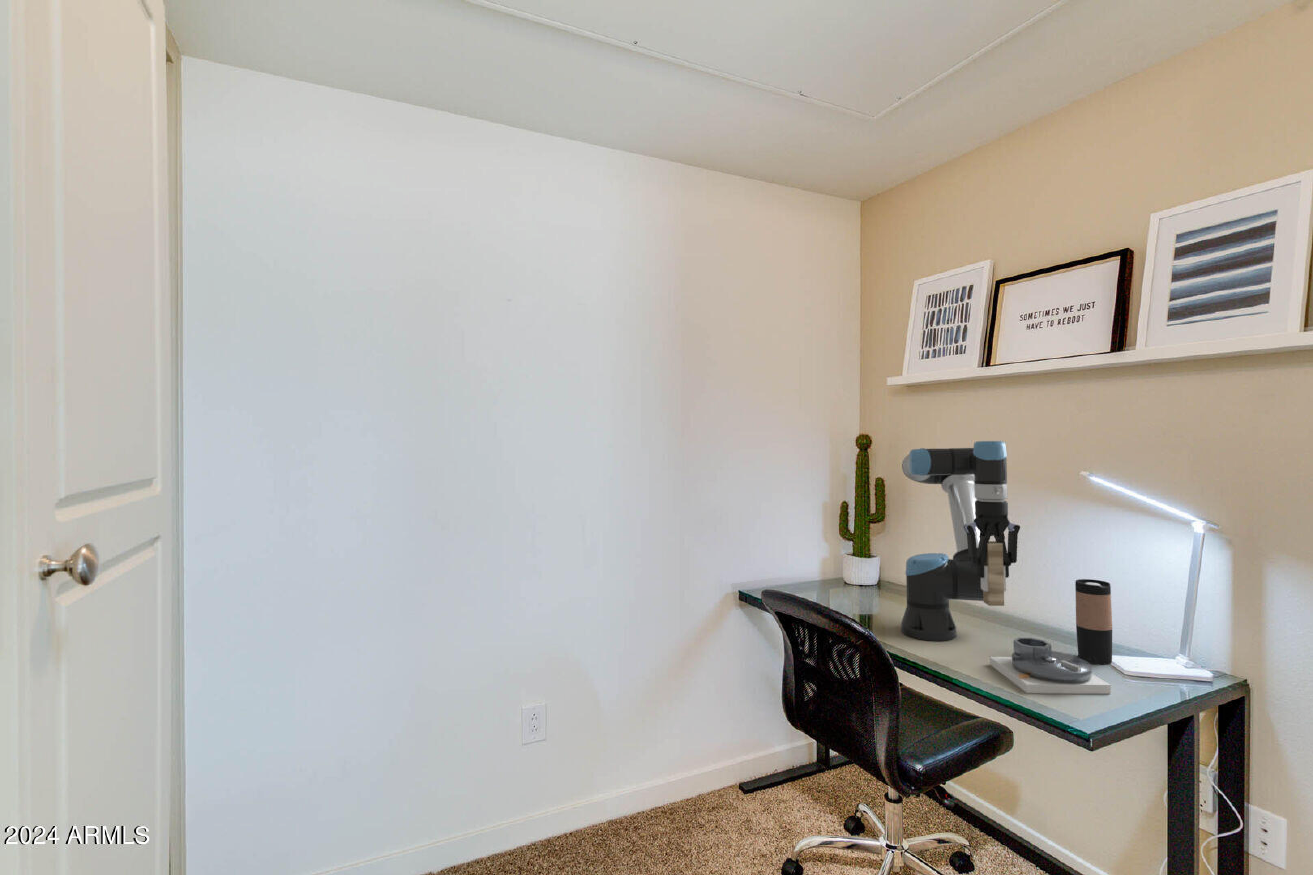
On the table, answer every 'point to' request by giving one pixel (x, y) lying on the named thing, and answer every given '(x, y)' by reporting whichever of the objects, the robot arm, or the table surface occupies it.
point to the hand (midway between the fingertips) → (993, 589)
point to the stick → (994, 575)
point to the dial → (1048, 662)
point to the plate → (1048, 681)
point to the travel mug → (1094, 621)
